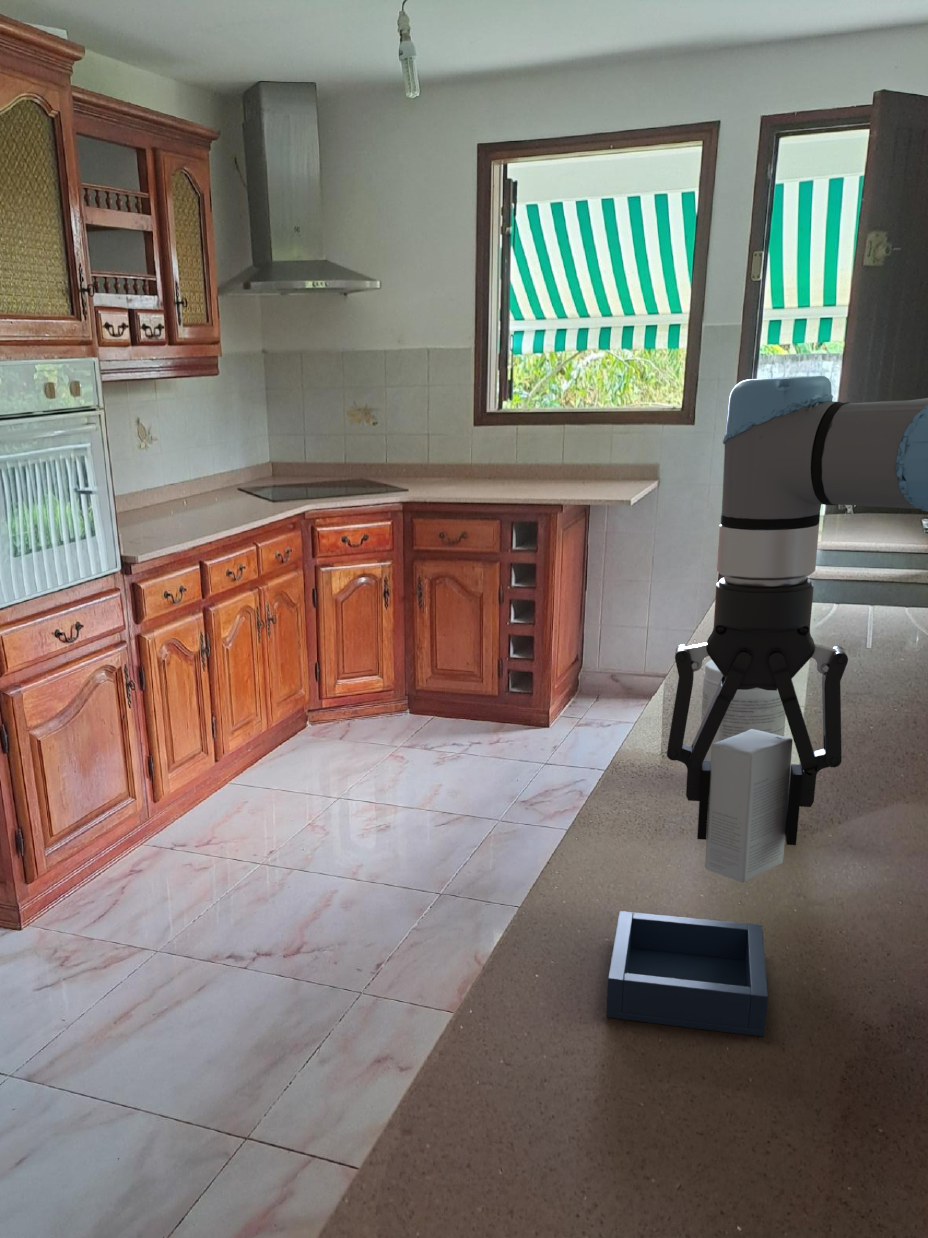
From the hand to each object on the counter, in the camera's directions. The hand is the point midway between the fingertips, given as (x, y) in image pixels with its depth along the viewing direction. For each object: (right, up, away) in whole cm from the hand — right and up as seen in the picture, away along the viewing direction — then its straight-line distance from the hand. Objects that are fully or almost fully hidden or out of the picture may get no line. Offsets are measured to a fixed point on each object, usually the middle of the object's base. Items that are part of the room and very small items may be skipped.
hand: (745, 835), depth 99 cm
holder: (-7, -12, -6) cm, 16 cm away
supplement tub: (+13, +5, +38) cm, 40 cm away
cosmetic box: (0, -3, +1) cm, 3 cm away
